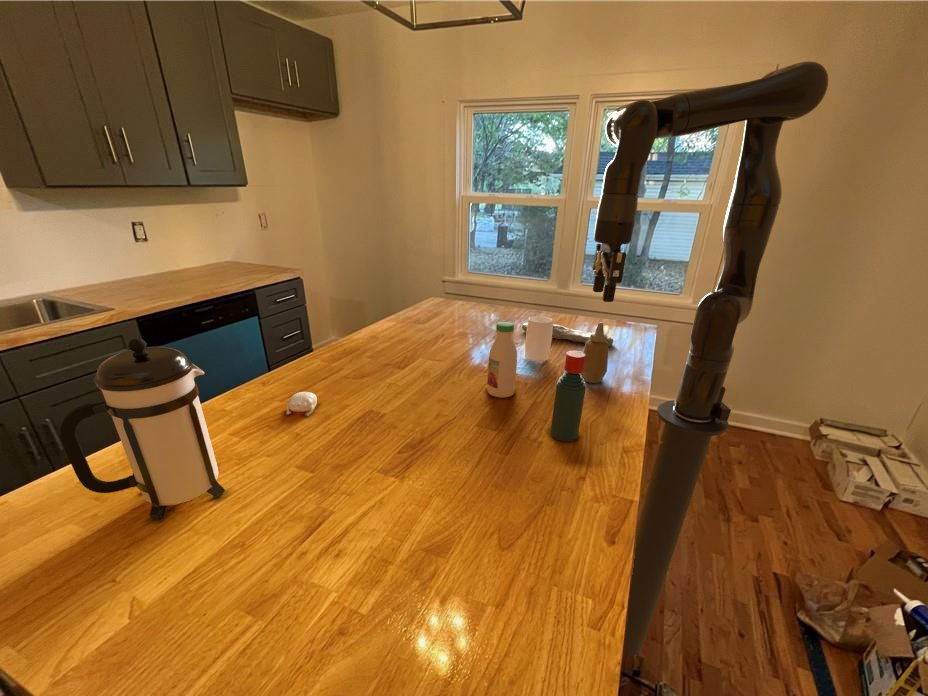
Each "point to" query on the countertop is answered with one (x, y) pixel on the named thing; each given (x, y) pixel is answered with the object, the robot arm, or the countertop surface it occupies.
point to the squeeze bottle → (596, 356)
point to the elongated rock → (570, 334)
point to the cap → (575, 362)
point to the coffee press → (151, 427)
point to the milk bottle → (502, 362)
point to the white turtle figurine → (302, 402)
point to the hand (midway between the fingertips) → (602, 296)
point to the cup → (538, 338)
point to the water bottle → (568, 406)
